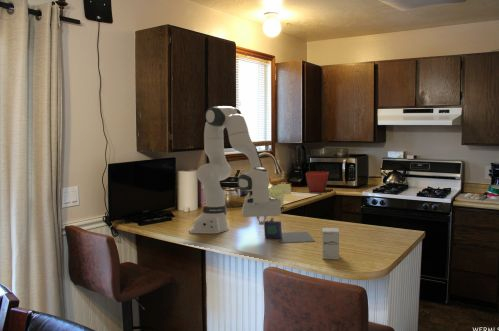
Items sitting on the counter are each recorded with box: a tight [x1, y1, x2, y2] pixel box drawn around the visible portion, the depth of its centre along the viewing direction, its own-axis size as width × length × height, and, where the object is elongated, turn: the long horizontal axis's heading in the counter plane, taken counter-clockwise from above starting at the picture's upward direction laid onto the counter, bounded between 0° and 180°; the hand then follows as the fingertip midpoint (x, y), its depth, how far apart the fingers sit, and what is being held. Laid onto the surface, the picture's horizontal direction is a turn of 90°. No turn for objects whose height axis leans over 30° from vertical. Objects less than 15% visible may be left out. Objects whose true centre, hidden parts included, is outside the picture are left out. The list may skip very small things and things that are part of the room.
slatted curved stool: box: [268, 182, 292, 208], centre depth 320 cm, size 30×16×18 cm, turn 31°
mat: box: [277, 231, 316, 244], centre depth 230 cm, size 18×20×1 cm
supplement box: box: [321, 227, 340, 260], centre depth 194 cm, size 7×7×13 cm
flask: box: [263, 217, 283, 240], centre depth 229 cm, size 9×3×11 cm, turn 74°
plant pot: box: [305, 171, 330, 193], centre depth 388 cm, size 19×19×17 cm
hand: (261, 224), depth 228 cm, fingers closed
